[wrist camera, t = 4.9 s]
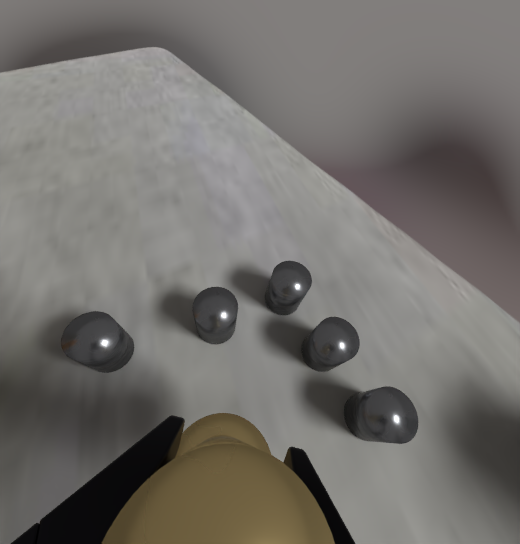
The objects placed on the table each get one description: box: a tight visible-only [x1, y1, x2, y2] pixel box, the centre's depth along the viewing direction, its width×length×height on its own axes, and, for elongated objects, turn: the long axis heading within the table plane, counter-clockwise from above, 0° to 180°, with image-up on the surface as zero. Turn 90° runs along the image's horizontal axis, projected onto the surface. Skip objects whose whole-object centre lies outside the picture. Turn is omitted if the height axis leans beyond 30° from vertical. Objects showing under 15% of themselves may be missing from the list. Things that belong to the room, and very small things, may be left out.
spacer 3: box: [265, 261, 312, 315], centre depth 23 cm, size 3×3×4 cm
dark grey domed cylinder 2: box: [344, 387, 418, 444], centre depth 19 cm, size 3×3×4 cm
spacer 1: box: [61, 311, 134, 373], centre depth 19 cm, size 3×3×4 cm
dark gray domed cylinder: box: [193, 287, 238, 344], centre depth 21 cm, size 3×3×4 cm
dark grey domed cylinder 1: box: [302, 317, 360, 372], centre depth 21 cm, size 3×3×4 cm
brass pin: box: [102, 413, 335, 544], centre depth 8 cm, size 5×5×11 cm
